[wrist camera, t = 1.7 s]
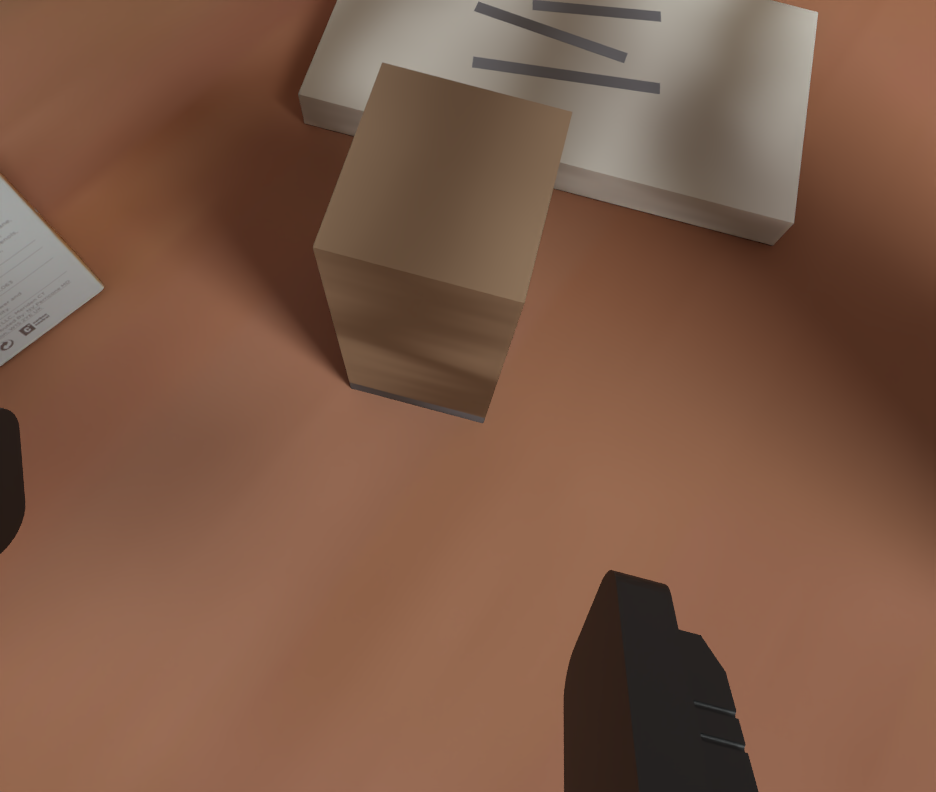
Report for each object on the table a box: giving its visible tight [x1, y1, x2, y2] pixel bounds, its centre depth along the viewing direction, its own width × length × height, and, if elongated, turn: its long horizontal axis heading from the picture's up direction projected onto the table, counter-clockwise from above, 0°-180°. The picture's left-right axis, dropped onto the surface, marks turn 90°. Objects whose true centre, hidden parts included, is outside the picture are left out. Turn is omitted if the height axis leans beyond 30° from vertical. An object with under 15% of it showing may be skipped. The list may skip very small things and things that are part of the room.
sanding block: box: [313, 62, 572, 423], centre depth 19 cm, size 4×5×9 cm
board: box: [298, 0, 818, 245], centre depth 27 cm, size 18×10×2 cm, turn 76°
